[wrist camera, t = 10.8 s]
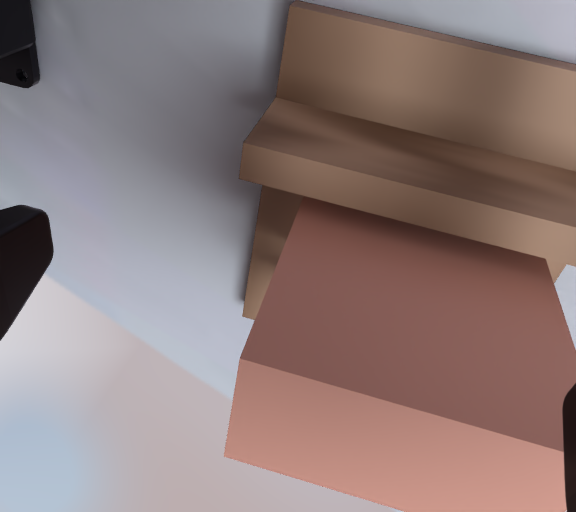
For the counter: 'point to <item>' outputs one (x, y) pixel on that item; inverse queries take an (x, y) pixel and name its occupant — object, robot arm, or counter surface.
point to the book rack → (414, 138)
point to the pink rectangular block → (406, 368)
